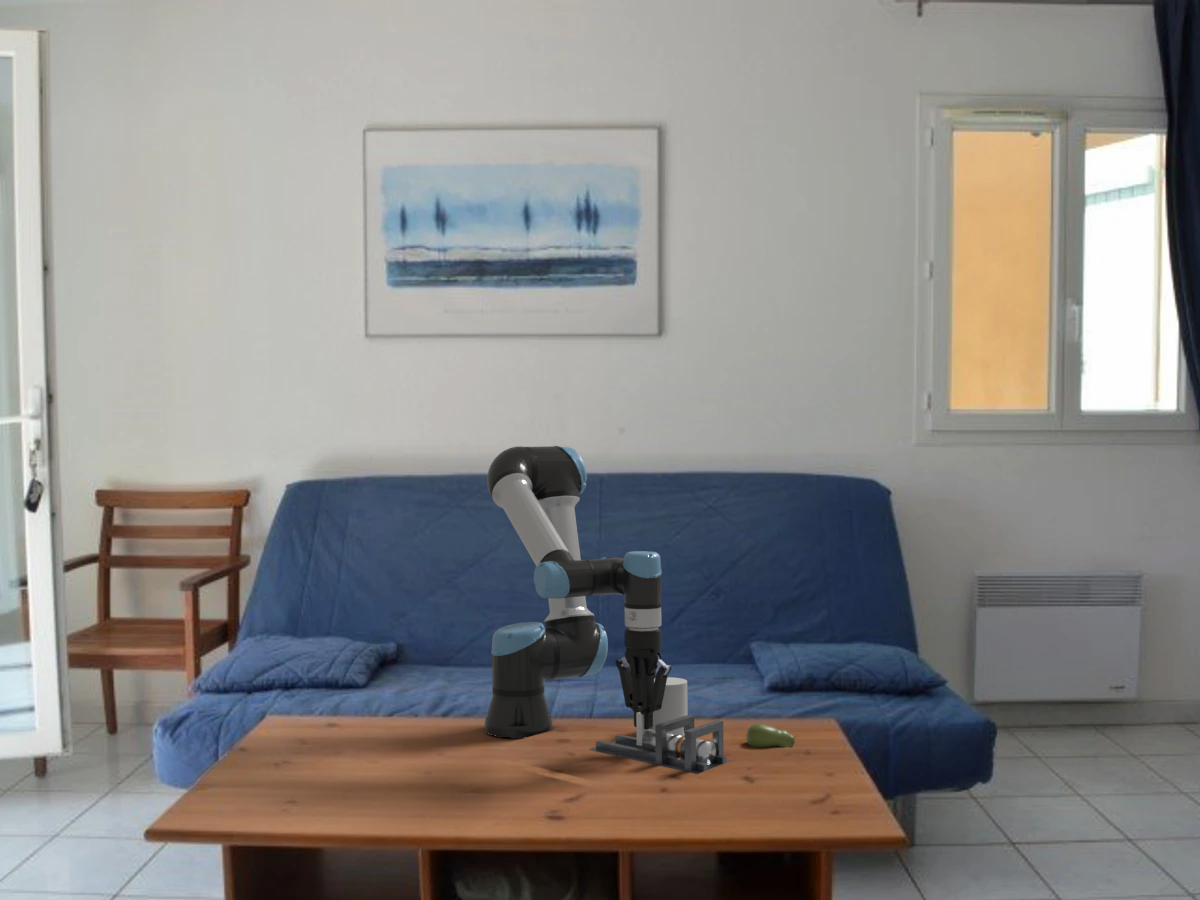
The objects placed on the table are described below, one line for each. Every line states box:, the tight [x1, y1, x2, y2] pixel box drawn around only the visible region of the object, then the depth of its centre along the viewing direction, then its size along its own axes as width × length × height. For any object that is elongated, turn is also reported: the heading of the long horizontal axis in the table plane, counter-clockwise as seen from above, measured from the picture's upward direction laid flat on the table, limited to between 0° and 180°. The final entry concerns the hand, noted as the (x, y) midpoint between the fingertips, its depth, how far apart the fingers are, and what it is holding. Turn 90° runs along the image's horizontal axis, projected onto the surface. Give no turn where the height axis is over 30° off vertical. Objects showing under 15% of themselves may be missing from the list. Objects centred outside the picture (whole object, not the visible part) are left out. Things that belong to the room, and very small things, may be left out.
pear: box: [745, 723, 796, 748], centre depth 227 cm, size 6×5×10 cm
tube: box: [642, 730, 716, 765], centre depth 217 cm, size 15×4×4 cm, turn 50°
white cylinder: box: [650, 676, 688, 736], centre depth 238 cm, size 8×8×12 cm
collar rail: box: [588, 714, 733, 775], centre depth 219 cm, size 27×12×8 cm, turn 50°
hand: (643, 744), depth 222 cm, fingers closed
